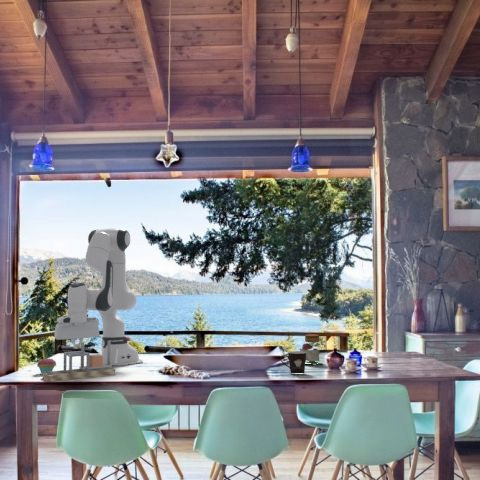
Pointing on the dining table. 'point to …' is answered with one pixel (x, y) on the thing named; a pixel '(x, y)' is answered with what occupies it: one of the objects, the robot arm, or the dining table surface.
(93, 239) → the robot arm
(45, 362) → the cupcake
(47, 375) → the board
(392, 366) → the dining table surface
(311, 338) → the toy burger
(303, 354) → the coffee mug
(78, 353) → the tunnel
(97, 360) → the sled
